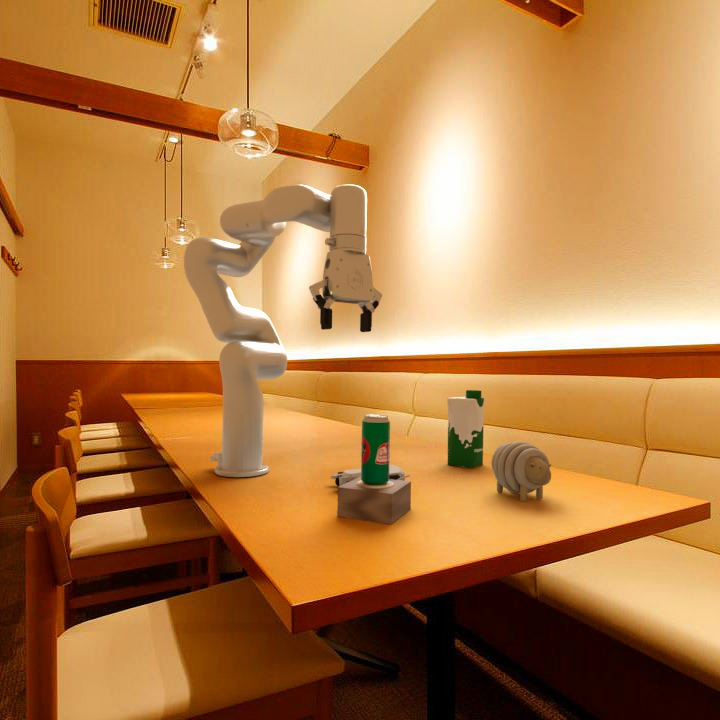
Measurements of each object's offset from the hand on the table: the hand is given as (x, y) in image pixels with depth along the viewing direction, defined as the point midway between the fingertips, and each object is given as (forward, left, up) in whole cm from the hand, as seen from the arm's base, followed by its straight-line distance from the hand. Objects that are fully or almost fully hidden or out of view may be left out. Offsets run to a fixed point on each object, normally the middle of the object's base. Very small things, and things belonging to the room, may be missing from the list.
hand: (346, 330), depth 103 cm
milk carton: (+16, +42, -34) cm, 56 cm away
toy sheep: (+33, +15, -34) cm, 49 cm away
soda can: (+11, -10, -28) cm, 32 cm away
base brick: (+11, -10, -33) cm, 36 cm away
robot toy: (+3, +6, -34) cm, 34 cm away
